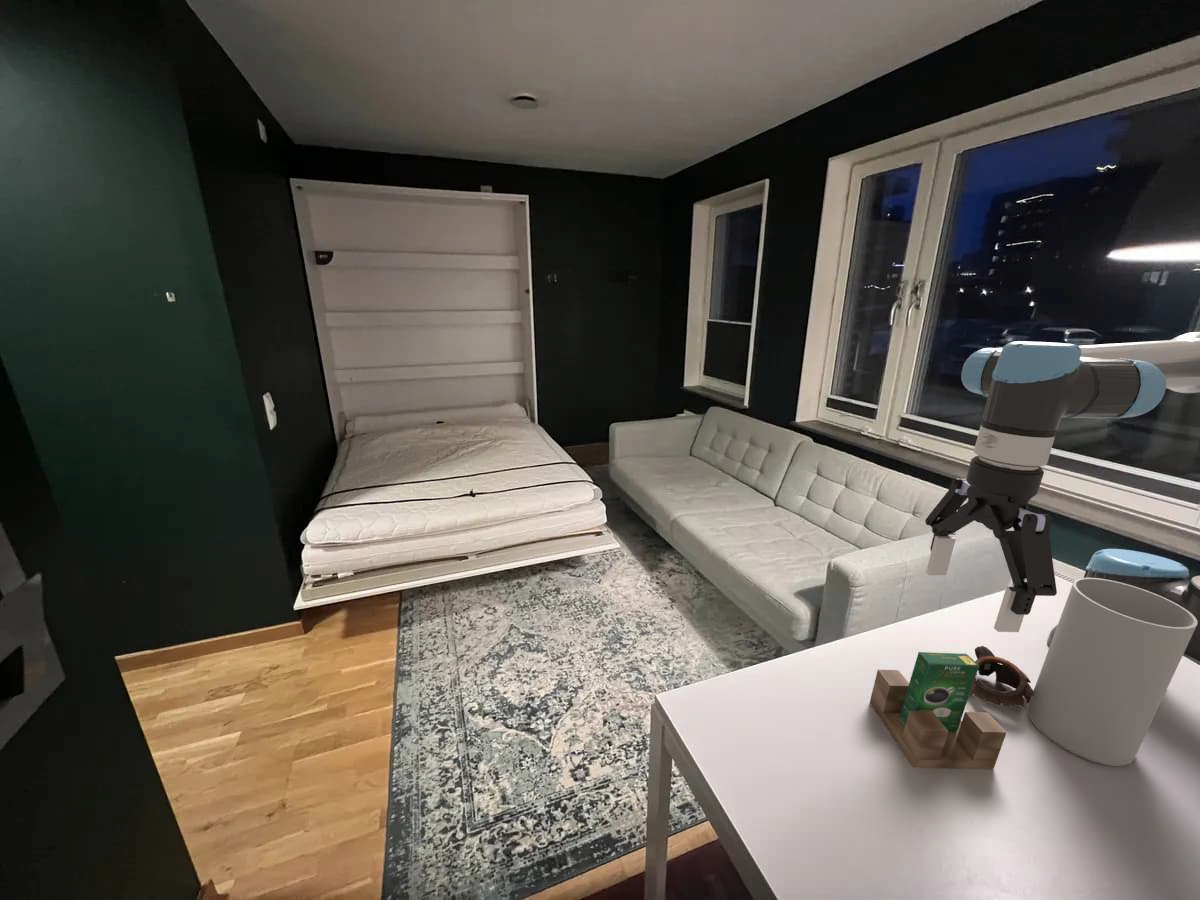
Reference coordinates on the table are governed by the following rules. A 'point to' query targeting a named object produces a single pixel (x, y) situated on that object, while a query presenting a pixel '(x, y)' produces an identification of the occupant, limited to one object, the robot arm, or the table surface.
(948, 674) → the coffee box
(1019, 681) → the brown ring-shaped frame
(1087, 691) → the cylinder vase
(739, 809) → the table surface
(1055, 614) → the table surface
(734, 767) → the table surface
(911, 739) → the walnut cross socket
